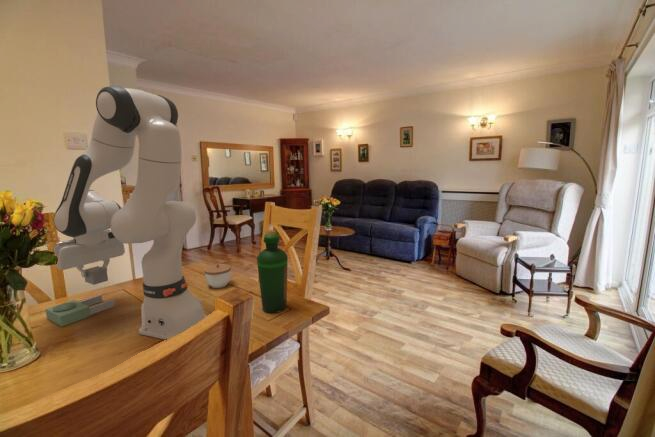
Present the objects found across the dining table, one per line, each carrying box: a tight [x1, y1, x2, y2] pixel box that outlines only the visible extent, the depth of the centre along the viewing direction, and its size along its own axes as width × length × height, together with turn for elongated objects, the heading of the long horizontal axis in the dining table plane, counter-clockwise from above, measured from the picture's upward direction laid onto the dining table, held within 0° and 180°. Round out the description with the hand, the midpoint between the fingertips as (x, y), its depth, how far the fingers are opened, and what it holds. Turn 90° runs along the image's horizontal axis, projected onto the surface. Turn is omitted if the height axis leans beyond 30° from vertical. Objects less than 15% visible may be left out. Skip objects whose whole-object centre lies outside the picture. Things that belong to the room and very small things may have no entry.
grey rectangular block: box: [83, 265, 109, 286], centre depth 112 cm, size 6×4×4 cm
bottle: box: [256, 229, 289, 314], centre depth 109 cm, size 11×11×28 cm
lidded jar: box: [203, 263, 232, 289], centre depth 131 cm, size 11×11×9 cm
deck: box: [45, 294, 116, 327], centre depth 109 cm, size 11×16×4 cm
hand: (95, 273), depth 112 cm, fingers closed on grey rectangular block, 4 cm apart
